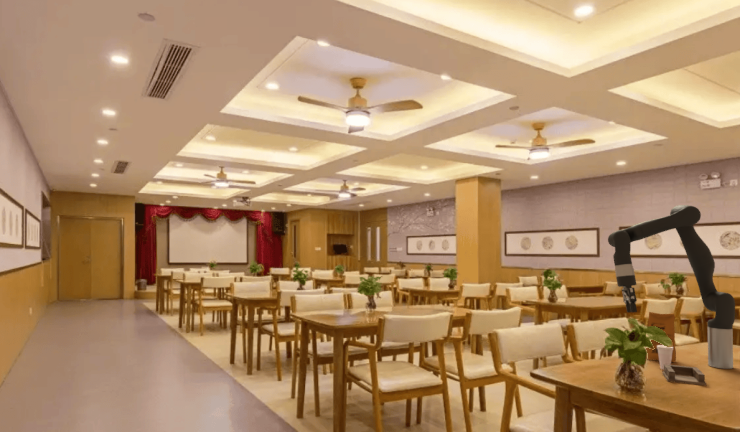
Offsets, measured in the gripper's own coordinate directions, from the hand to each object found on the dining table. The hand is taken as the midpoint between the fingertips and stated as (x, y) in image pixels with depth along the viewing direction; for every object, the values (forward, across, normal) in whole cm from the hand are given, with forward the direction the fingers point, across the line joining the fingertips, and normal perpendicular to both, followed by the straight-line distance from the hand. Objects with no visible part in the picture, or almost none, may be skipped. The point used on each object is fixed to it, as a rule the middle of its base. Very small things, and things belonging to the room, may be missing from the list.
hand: (632, 312), depth 220 cm
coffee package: (+23, +26, -14) cm, 38 cm away
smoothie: (+25, +8, -10) cm, 29 cm away
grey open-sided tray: (+28, -8, -13) cm, 32 cm away
